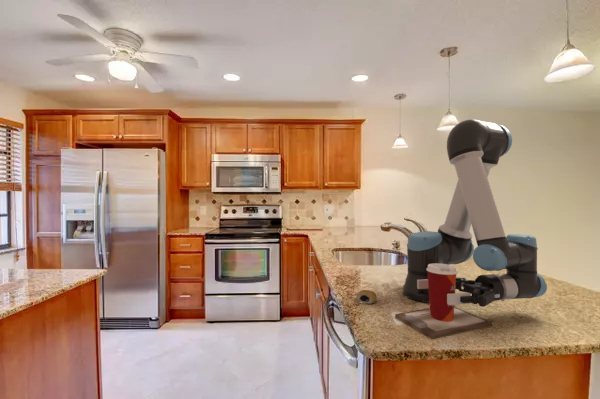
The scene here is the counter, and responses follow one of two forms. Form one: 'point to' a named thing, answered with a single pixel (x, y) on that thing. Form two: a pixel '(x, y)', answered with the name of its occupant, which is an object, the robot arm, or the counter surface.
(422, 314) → the brown framed picture
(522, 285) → the robot arm
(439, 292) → the coffee cup
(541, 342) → the counter surface
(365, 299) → the pastry
